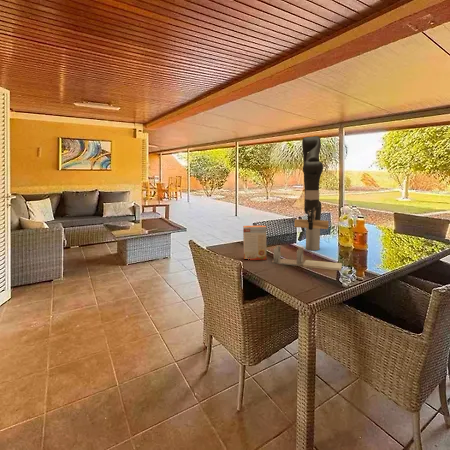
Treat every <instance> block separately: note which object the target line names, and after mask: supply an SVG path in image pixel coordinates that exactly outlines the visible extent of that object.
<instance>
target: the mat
mask: <svg viewBox="0 0 450 450" xmlns="http://www.w3.org/2000/svg"><path fill="white" fill-rule="evenodd" d="M304 261H305V263H304V264H303V266H302V267H303V268H311V269H322V270H331V271H342V267H343V263H341V262H331V261H321V260H311V259H306V260H304Z"/></svg>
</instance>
